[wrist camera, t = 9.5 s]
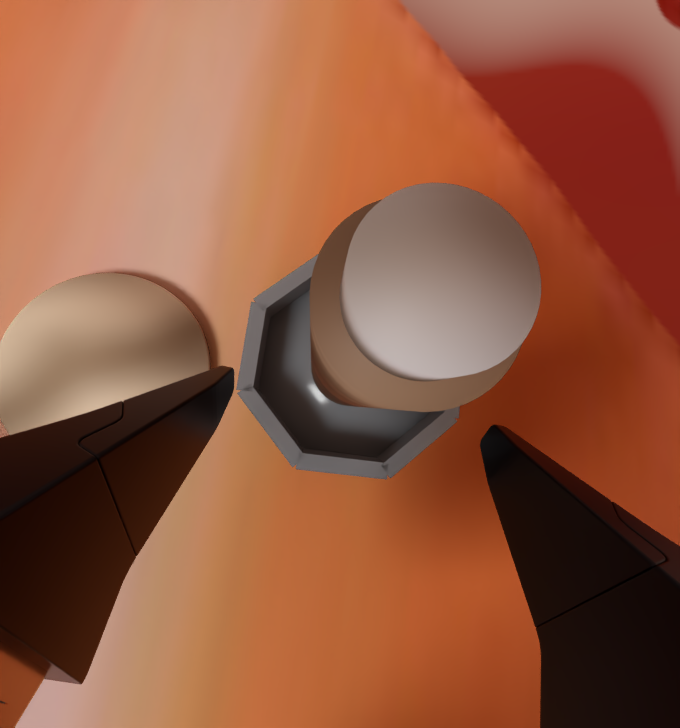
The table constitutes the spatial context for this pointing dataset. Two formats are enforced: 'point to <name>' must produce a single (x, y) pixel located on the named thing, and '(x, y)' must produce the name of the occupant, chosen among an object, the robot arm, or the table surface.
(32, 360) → the cork mat
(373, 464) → the bowl
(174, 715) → the table surface
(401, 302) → the salt mill
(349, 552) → the table surface
